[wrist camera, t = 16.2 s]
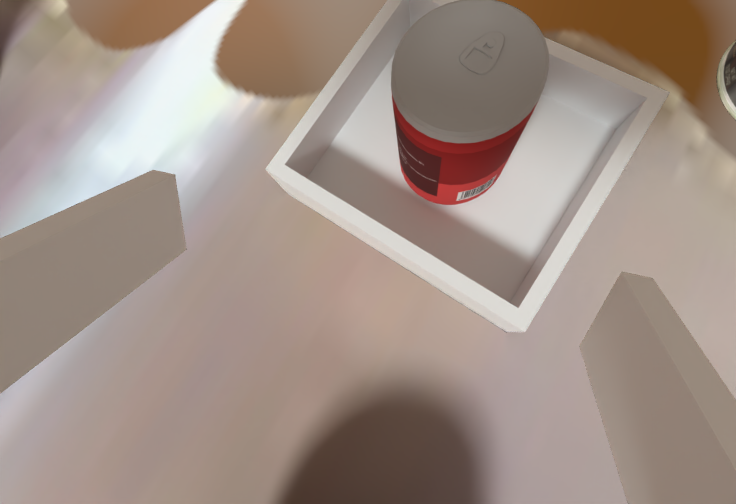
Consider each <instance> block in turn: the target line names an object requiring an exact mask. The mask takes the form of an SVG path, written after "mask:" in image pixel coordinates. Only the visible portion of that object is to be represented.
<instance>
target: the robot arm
mask: <svg viewBox="0 0 736 504" xmlns="http://www.w3.org/2000/svg"><path fill="white" fill-rule="evenodd" d="M185 250H187V249H186V242H185V236H184V230H183V223H182V217H181V211H180V204H179V198H178V191H177V185H176V179H175V175H174V174H170V173H165V172H160V171H156V170H152V171H150V172H147V173H145V174H143V175H141V176H138V177H136V178H134V179H132V180H130V181H127V182H125V183H123V184H121V185H118V186H116V187H114V188H112V189H110V190H107V191H105V192H103V193H101V194H98V195H96V196H94V197H92V198H89V199H87V200H85V201H83V202H81V203H78V204H76V205H74V206H72V207H69V208H67V209H65V210H63V211H61V212H58V213H56V214H54V215H52V216H49V217H47V218H45V219H43V220H41V221H38V222H36V223H34V224H32V225H29V226H27V227H25V228H23V229H21V230H18V231H16V232H14V233H12V234H9V235H7V236H5V237H3V238H0V393H2V392H3V391H4V390H5V389H7V388H8V387H9V386H11V385H12V384H13V383H14V382H16V381H17V380H18V379H20V378H21V377H22V376H24V375H25V374H26V373H27V372H29V371H30V370H31V369H33V368H34V367H35V366H36V365H38V364H39V363H40V362H42V361H43V360H44V359H46V358H47V357H48V356H49V355H51V354H52V353H53V352H55V351H56V350H57V349H58V348H60V347H61V346H62V345H64V344H65V343H66V342H68V341H69V340H70V339H71V338H73V337H74V336H75V335H77V334H78V333H79V332H80V331H82V330H83V329H84V328H86V327H87V326H88V325H90V324H91V323H92V322H93V321H95V320H96V319H97V318H99V317H100V316H101V315H102V314H104V313H105V312H106V311H108V310H109V309H110V308H112V307H113V306H114V305H115V304H117V303H118V302H119V301H121V300H122V299H123V298H124V297H126V296H127V295H128V294H130V293H131V292H132V291H134V290H135V289H136V288H137V287H139V286H140V285H141V284H143V283H144V282H145V281H146V280H148V279H149V278H150V277H152V276H153V275H154V274H156V273H157V272H158V271H159V270H161V269H162V268H163V267H165V266H166V265H167V264H168V263H170V262H171V261H172V260H174V259H175V258H176V257H178V256H179V255H180V254H181V253H183V252H184V251H185ZM579 347H580V351H581V354H582V357H583V360H584V363H585V367H586V370H587V373H588V376H589V380H590V383H591V386H592V389H593V393H594V396H595V399H596V402H597V405H598V409H599V412H600V415H601V418H602V422H603V425H604V428H605V431H606V435H607V438H608V441H609V444H610V448H611V451H612V454H613V457H614V460H615V464H616V467H617V470H618V473H619V477H620V480H621V483H622V486H623V490H624V493H625V496H626V499H627V502H628V504H736V400H735V398H734V397H733V395H732V394H731V392H730V391H729V389H728V388H727V387H726V385H725V384H724V382H723V381H722V379H721V378H720V376H719V375H718V373H717V372H716V370H715V369H714V367H713V366H712V364H711V363H710V362H709V360H708V359H707V357H706V356H705V354H704V353H703V351H702V350H701V348H700V347H699V345H698V344H697V342H696V341H695V340H694V338H693V337H692V335H691V334H690V332H689V331H688V329H687V328H686V326H685V325H684V323H683V322H682V320H681V319H680V317H679V316H678V315H677V313H676V312H675V310H674V309H673V307H672V306H671V304H670V303H669V301H668V300H667V298H666V297H665V295H664V294H663V293H662V291H661V290H660V288H659V287H658V285H657V284H656V282H655V281H654V279H653V278H649V277H644V276H640V275H635V274H631V273H626V272H621V273H620V275H619V277H618V279H617V281H616V282H615V284H614V286H613V288H612V289H611V291H610V293H609V295H608V296H607V298H606V300H605V302H604V304H603V305H602V307H601V309H600V311H599V312H598V314H597V316H596V318H595V320H594V321H593V323H592V325H591V327H590V328H589V330H588V332H587V334H586V335H585V337H584V339H583V341H582V343H581V344H580V346H579Z"/></svg>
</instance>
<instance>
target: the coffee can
mask: <svg viewBox="0 0 736 504" xmlns="http://www.w3.org/2000/svg"><path fill="white" fill-rule="evenodd" d="M717 88H718V92H719V95H720V98H721V101H722V103H723V105H724V107H725V108H726V110H727V111H728V112H729V114H730V115H731V116H732V117H733V118H734V119H735V120H736V40H735V41H734V42H733V43H732V44H731V45H730V46H729V47H728V49H727V50H726V51H725V53H724V54H723V56H722V58H721V61H720V63H719V66H718V70H717Z"/></svg>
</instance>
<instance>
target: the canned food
mask: <svg viewBox="0 0 736 504" xmlns="http://www.w3.org/2000/svg"><path fill="white" fill-rule="evenodd" d="M548 70H549V51H548V47H547V44H546V41H545V38H544V36H543V34H542V32H541V31H540V29H539V27H538V26H537V25H536V24H535V23H534V21H533V20H532V19H531V18H530V17H529V16H527V15H526V14H525V13H523V12H522V11H521V10H519V9H518V8H516V7H513V6H511V5H509V4H507V3H504V2H500V1H496V0H458V1H454V2H450V3H447V4H444V5H442V6H440V7H438V8H435V9H433V10H432V11H430V12H428V13H427V14H425V15H424V16H422V17H421V18H420V19H419V20H418V21H416V22H415V23H414V24H413V25H412V26H411V27H410V28H409V29H408V31H407V32H406V34H405V35H404V36H403V38H402V39H401V41H400V43H399V45H398V47H397V49H396V51H395V54H394V58H393V62H392V71H391V91H392V103H393V111H394V119H395V127H396V135H397V143H398V151H399V160H400V166H401V171H402V174H403V176H404V179H405V181H406V182H407V184H408V185H409V186H410V188H411V189H412V190H413V191H414V192H415V193H417V194H418V195H419V196H421V197H423V198H424V199H426V200H427V201H430V202H433V203H436V204H442V205H456V204H461V203H465V202H468V201H471V200H473V199H475V198H477V197H479V196H480V195H482V194H483V193H485V192H486V191H487V190H488V189H489V188H490V187H491V186H492V185H493V184H494V183H495V182H496V180H497V179H498V177H499V176H500V174H501V172H502V170H503V168H504V166H505V164H506V163H507V161H508V159H509V157H510V155H511V153H512V151H513V149H514V147H515V146H516V144H517V142H518V140H519V138H520V136H521V134H522V132H523V130H524V128H525V127H526V125H527V123H528V121H529V119H530V117H531V115H532V113H533V111H534V109H535V107H536V105H537V103H538V101H539V99H540V96H541V94H542V91H543V89H544V87H545V82H546V80H547V75H548Z"/></svg>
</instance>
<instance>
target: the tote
mask: <svg viewBox="0 0 736 504" xmlns="http://www.w3.org/2000/svg"><path fill="white" fill-rule="evenodd" d="M454 1H458V0H387V1H386V3H385V4H384V5H383V7H382V8H381V9H380V11H379V12H378V14H377V15H376V16H375V18H374V19H373V21H372V22H371V24H370V25H369V26H368V27H367V29H366V30H365V32H364V33H363V34H362V36H361V37H360V39H359V40H358V41H357V43H356V44H355V46H354V47H353V48H352V50H351V51H350V53H349V54H348V55H347V57H346V58H345V59H344V61H343V62H342V64H341V65H340V66H339V68H338V69H337V70H336V72H335V73H334V75H333V76H332V77H331V79H330V80H329V82H328V83H327V84H326V86H325V87H324V89H323V90H322V91H321V93H320V94H319V95H318V97H317V98H316V100H315V101H314V102H313V104H312V105H311V107H310V108H309V109H308V111H307V112H306V113H305V115H304V116H303V118H302V119H301V120H300V122H299V123H298V125H297V126H296V127H295V129H294V130H293V132H292V133H291V134H290V136H289V137H288V138H287V140H286V141H285V143H284V144H283V145H282V147H281V148H280V150H279V151H278V152H277V154H276V155H275V156H274V158H273V159H272V161H271V162H270V163H269V165H268V166H267V168H266V169H265V170H266V171H267V172H268V173H269V174H270V175H271V176H272V177H273V178H274V179H275V180H276V182H277V183H278V184H279V185H280V186H281V187H282V188H283V189H284V190H285V191H286V192H287V193H288V194H289V195H290V196H292V197H294V198H295V199H297V200H298V201H300V202H302V203H303V204H305V205H306V206H308V207H309V208H311V209H313V210H314V211H316V212H317V213H319V214H320V215H322V216H324V217H325V218H327V219H328V220H330V221H332V222H333V223H335V224H336V225H338V226H339V227H341V228H343V229H344V230H346V231H347V232H349V233H350V234H352V235H354V236H355V237H357V238H358V239H360V240H362V241H363V242H365V243H366V244H368V245H369V246H371V247H373V248H374V249H376V250H377V251H379V252H380V253H382V254H384V255H385V256H387V257H388V258H390V259H392V260H393V261H395V262H396V263H398V264H399V265H401V266H403V267H404V268H406V269H407V270H409V271H411V272H412V273H414V274H415V275H417V276H418V277H420V278H422V279H423V280H425V281H426V282H428V283H429V284H431V285H433V286H434V287H436V288H437V289H439V290H441V291H442V292H444V293H445V294H447V295H448V296H450V297H452V298H453V299H455V300H456V301H458V302H459V303H461V304H463V305H464V306H466V307H467V308H469V309H471V310H472V311H474V312H475V313H477V314H478V315H480V316H482V317H483V318H485V319H486V320H488V321H489V322H491V323H493V324H494V325H496V326H497V327H499V328H501V329H502V330H504V331H505V332H525V331H526V330H527V328H528V326H529V325H530V323H531V321H532V320H533V318H534V316H535V315H536V313H537V311H538V310H539V308H540V306H541V305H542V303H543V302H544V300H545V298H546V297H547V295H548V293H549V292H550V290H551V288H552V287H553V285H554V283H555V282H556V280H557V278H558V277H559V275H560V273H561V272H562V270H563V268H564V267H565V265H566V264H567V262H568V260H569V259H570V257H571V255H572V254H573V252H574V250H575V249H576V247H577V245H578V244H579V242H580V240H581V239H582V237H583V235H584V234H585V232H586V230H587V229H588V227H589V226H590V224H591V222H592V221H593V219H594V217H595V216H596V214H597V212H598V211H599V209H600V207H601V206H602V204H603V202H604V201H605V199H606V197H607V196H608V194H609V193H610V191H611V189H612V188H613V186H614V184H615V183H616V181H617V179H618V178H619V176H620V174H621V173H622V171H623V169H624V168H625V166H626V164H627V163H628V161H629V159H630V158H631V156H632V155H633V153H634V151H635V150H636V148H637V146H638V145H639V143H640V141H641V140H642V138H643V136H644V135H645V133H646V131H647V130H648V128H649V126H650V125H651V123H652V121H653V120H654V118H655V117H656V115H657V113H658V112H659V110H660V108H661V107H662V105H663V103H664V102H665V100H666V98H667V97H668V95H669V93H670V92H668V91H666V90H664V89H661V88H659V87H657V86H655V85H652V84H650V83H648V82H645V81H643V80H641V79H639V78H636V77H634V76H632V75H630V74H627V73H625V72H623V71H620V70H618V69H616V68H614V67H611V66H609V65H607V64H605V63H602V62H600V61H598V60H596V59H593V58H591V57H589V56H586V55H584V54H582V53H580V52H577V51H575V50H573V49H571V48H568V47H566V46H564V45H562V44H559V43H557V42H555V41H552V40H550V39H548V38H546V37H544V38H545V41H546V44H547V47H548V51H549V70H548V75H547V80H546V82H545V87H544V89H543V91H542V94H541V96H540V99H539V101H538V103H537V105H536V107H535V109H534V111H533V113H532V115H531V117H530V119H529V121H528V123H527V125H526V127H525V128H524V130H523V132H522V134H521V136H520V138H519V140H518V142H517V144H516V146H515V147H514V149H513V151H512V153H511V155H510V157H509V159H508V161H507V163H506V164H505V166H504V168H503V170H502V172H501V174H500V176H499V177H498V179H497V180H496V182H495V183H494V184H493V185H492V186H491V187H490V188H489V189H488V190H487V191H486V192H485V193H483V194H482V195H480V196H479V197H477V198H475V199H473V200H471V201H468V202H465V203H461V204H456V205H442V204H436V203H433V202H430V201H427V200H426V199H424V198H423V197H421V196H419V195H418V194H417V193H415V192H414V191H413V190H412V189H411V188H410V186H409V185H408V184H407V182H406V181H405V179H404V176H403V174H402V171H401V166H400V160H399V151H398V143H397V135H396V127H395V119H394V111H393V103H392V91H391V71H392V62H393V58H394V54H395V51H396V49H397V47H398V45H399V43H400V41H401V39H402V38H403V36H404V35H405V34H406V32H407V31H408V29H409V28H410V27H411V26H412V25H413V24H414V23H415V22H416V21H418V20H419V19H420V18H421V17H422V16H424V15H425V14H427V13H428V12H430V11H432V10H433V9H435V8H438V7H440V6H442V5H444V4H447V3H450V2H454Z"/></svg>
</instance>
